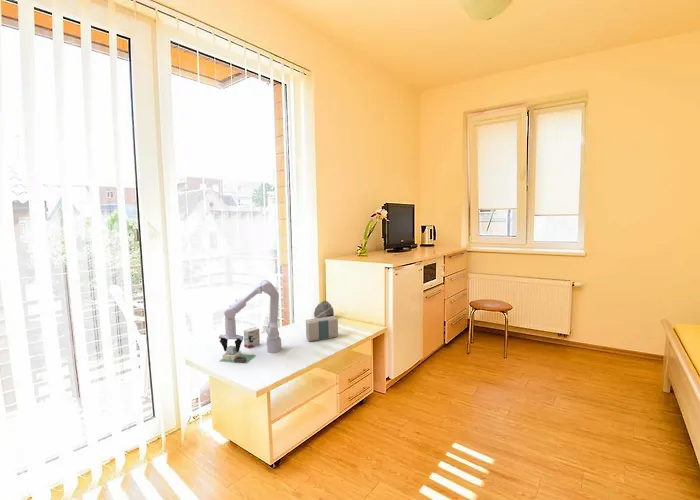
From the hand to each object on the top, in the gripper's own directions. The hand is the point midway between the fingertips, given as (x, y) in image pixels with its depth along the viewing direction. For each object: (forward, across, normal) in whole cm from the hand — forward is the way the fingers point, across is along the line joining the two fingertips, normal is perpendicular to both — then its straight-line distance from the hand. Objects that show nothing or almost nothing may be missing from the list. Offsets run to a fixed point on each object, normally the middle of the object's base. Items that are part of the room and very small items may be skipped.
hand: (231, 351), depth 209 cm
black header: (+3, +8, -5) cm, 10 cm away
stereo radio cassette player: (+5, +42, +42) cm, 60 cm away
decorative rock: (+5, +31, +85) cm, 91 cm away
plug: (+3, 0, 0) cm, 4 cm away
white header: (+3, 0, 0) cm, 3 cm away
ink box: (+5, +3, +19) cm, 20 cm away
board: (+4, +4, -1) cm, 6 cm away
